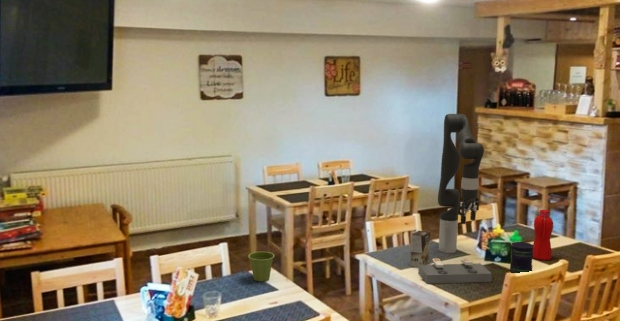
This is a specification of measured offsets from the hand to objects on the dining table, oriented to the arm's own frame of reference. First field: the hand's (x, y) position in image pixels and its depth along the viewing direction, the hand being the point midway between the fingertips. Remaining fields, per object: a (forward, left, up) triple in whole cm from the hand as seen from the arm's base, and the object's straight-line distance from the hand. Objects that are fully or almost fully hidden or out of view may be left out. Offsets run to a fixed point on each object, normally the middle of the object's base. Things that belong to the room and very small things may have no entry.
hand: (467, 222), depth 276 cm
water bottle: (-26, +49, -27) cm, 62 cm away
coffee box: (-21, -16, -27) cm, 37 cm away
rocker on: (-5, +2, -21) cm, 21 cm away
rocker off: (-5, -12, -21) cm, 24 cm away
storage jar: (-2, +27, -27) cm, 38 cm away
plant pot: (-6, -94, -27) cm, 98 cm away
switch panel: (-2, -5, -27) cm, 27 cm away
